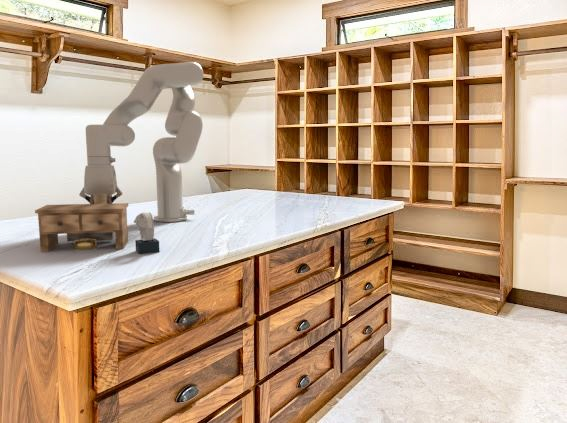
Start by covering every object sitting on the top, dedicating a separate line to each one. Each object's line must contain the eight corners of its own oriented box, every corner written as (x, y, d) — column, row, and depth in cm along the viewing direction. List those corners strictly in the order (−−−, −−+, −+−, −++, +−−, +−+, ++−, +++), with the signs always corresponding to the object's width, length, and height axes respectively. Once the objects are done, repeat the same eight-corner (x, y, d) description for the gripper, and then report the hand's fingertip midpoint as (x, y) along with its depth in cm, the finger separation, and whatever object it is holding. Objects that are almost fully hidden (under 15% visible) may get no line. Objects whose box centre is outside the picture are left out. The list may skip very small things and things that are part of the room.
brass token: (98, 245, 141) (98, 237, 141) (94, 250, 136) (94, 241, 135) (77, 246, 140) (76, 238, 140) (72, 250, 134) (71, 242, 134)
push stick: (123, 226, 167) (121, 181, 165) (112, 240, 145) (109, 188, 143) (84, 227, 165) (81, 181, 162) (67, 241, 143) (63, 188, 140)
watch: (153, 247, 138) (152, 210, 137) (161, 253, 131) (159, 214, 130) (133, 249, 135) (132, 211, 134) (140, 255, 129) (138, 215, 127)
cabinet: (129, 241, 146) (128, 203, 145) (124, 249, 135) (122, 208, 133) (50, 243, 142) (47, 204, 140) (37, 253, 131) (34, 210, 129)
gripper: (126, 160, 166) (129, 212, 168) (75, 161, 163) (79, 213, 165) (123, 162, 158) (126, 216, 161) (70, 162, 155) (73, 217, 158)
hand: (102, 214), depth 163 cm, fingers closed on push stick, 4 cm apart
